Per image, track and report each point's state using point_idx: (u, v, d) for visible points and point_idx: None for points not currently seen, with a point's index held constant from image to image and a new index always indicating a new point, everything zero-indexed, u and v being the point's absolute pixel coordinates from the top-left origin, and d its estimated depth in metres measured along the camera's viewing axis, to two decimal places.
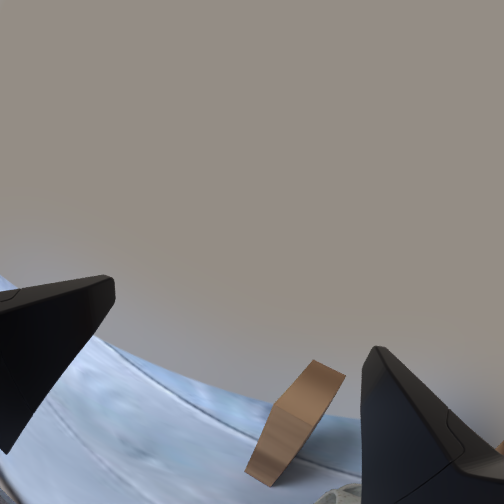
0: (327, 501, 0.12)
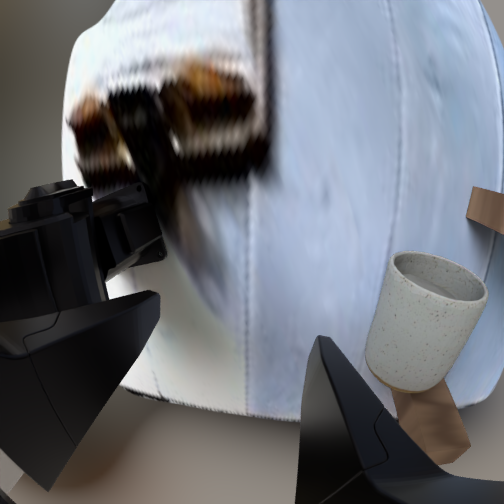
0: (470, 281, 0.15)
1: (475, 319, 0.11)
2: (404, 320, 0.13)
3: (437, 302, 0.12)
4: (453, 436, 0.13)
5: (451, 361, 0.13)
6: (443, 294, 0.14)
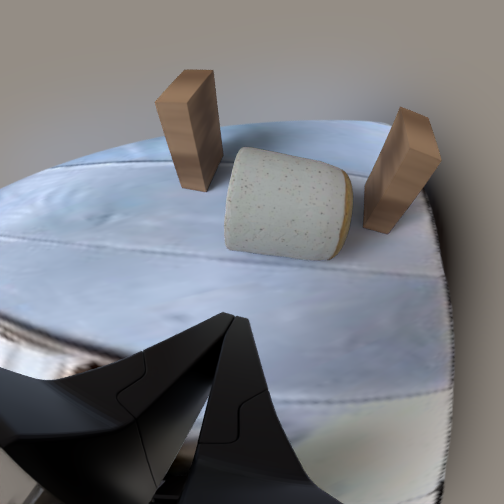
0: None
1: (256, 151, 0.17)
2: (261, 218, 0.16)
3: (233, 189, 0.16)
4: (397, 131, 0.17)
5: (306, 161, 0.17)
6: None
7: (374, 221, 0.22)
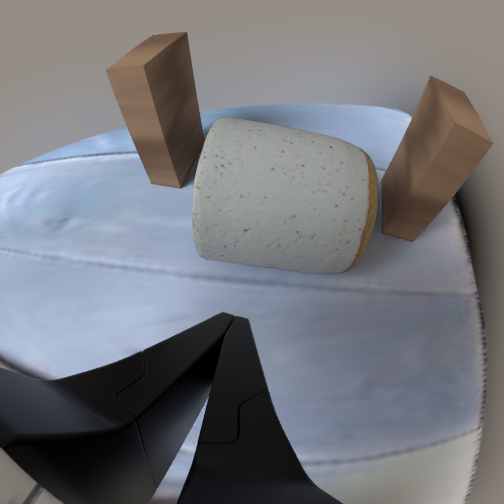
0: None
1: (241, 120, 0.12)
2: (245, 213, 0.11)
3: (203, 170, 0.11)
4: (429, 106, 0.11)
5: (310, 134, 0.12)
6: None
7: (397, 225, 0.16)
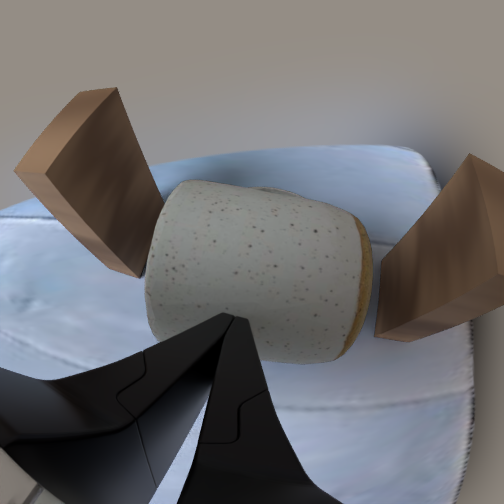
0: None
1: (202, 191, 0.10)
2: None
3: (152, 274, 0.09)
4: (462, 206, 0.08)
5: (291, 208, 0.10)
6: None
7: (392, 334, 0.13)
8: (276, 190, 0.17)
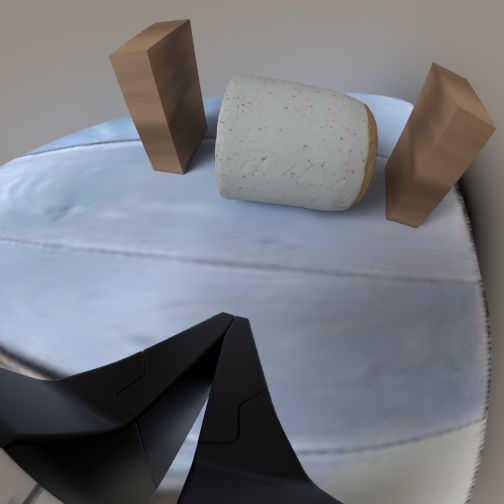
0: None
1: (256, 76, 0.13)
2: (263, 143, 0.12)
3: (226, 108, 0.11)
4: (432, 92, 0.11)
5: (316, 87, 0.13)
6: None
7: (401, 210, 0.16)
8: None
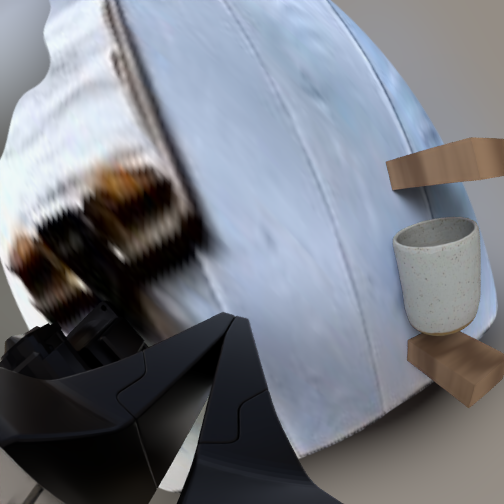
0: (454, 224, 0.19)
1: (479, 244, 0.15)
2: (435, 277, 0.16)
3: (451, 248, 0.14)
4: (488, 360, 0.15)
5: (479, 284, 0.16)
6: (445, 244, 0.17)
7: (415, 350, 0.22)
8: None
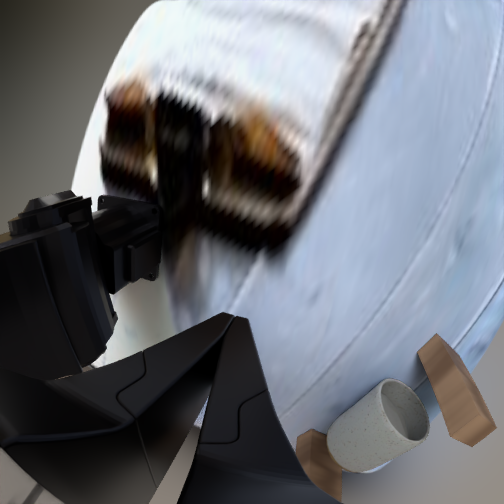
0: (420, 414, 0.19)
1: None
2: (369, 435, 0.17)
3: (396, 437, 0.15)
4: None
5: (383, 463, 0.17)
6: (400, 422, 0.18)
7: (307, 439, 0.25)
8: None
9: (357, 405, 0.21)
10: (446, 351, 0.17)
